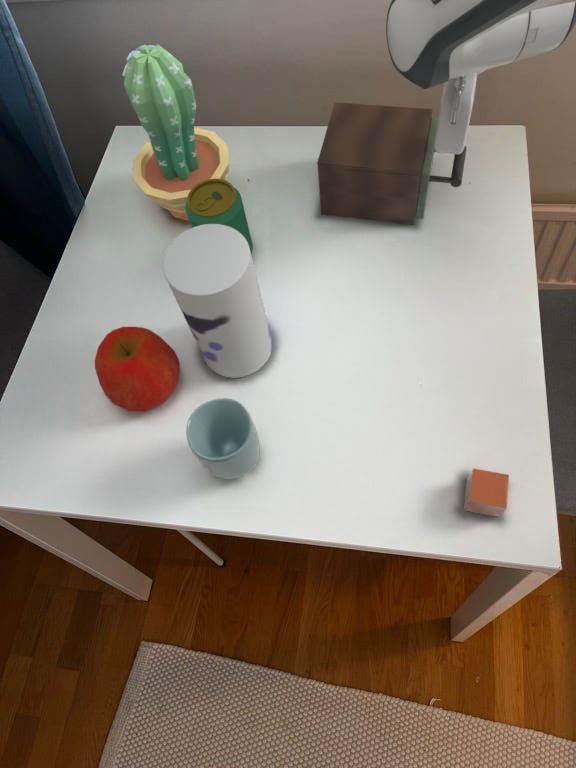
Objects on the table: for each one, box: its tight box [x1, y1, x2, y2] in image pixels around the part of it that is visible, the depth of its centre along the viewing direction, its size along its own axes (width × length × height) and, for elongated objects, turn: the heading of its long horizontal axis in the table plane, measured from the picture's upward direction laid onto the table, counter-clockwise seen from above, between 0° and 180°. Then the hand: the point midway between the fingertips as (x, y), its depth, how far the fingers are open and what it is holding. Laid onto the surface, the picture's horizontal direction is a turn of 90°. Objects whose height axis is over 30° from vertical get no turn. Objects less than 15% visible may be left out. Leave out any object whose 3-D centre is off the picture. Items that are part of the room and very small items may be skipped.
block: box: [463, 468, 510, 518], centre depth 68 cm, size 4×4×4 cm
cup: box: [185, 397, 261, 480], centre depth 70 cm, size 8×8×10 cm
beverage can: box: [185, 179, 254, 254], centre depth 85 cm, size 8×8×12 cm
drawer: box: [415, 116, 467, 219], centre depth 87 cm, size 18×11×9 cm, turn 77°
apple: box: [94, 326, 181, 413], centre depth 76 cm, size 11×11×11 cm
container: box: [161, 224, 274, 379], centre depth 73 cm, size 10×10×20 cm
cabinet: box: [316, 101, 433, 225], centre depth 88 cm, size 15×13×11 cm
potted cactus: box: [122, 43, 230, 222], centre depth 85 cm, size 15×15×25 cm
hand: (450, 132), depth 80 cm, fingers closed
